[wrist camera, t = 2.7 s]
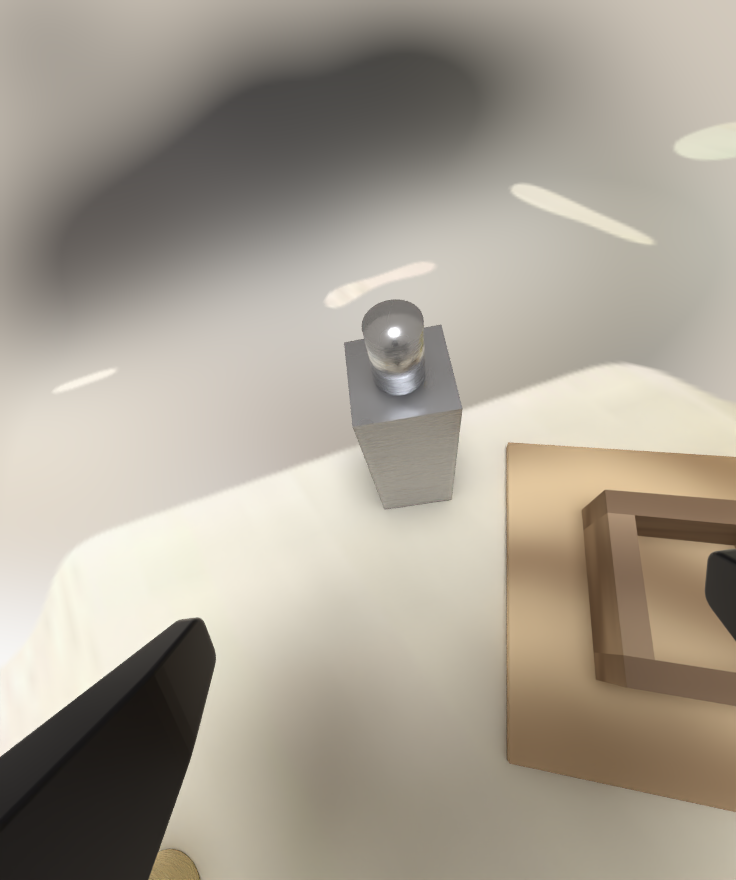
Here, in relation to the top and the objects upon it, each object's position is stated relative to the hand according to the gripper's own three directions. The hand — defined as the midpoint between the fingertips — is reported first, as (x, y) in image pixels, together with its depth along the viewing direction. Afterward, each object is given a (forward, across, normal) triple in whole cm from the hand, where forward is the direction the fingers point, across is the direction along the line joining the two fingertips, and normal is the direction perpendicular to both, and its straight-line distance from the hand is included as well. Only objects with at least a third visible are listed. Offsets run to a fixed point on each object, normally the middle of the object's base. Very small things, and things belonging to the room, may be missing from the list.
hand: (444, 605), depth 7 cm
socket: (+9, -10, +9) cm, 17 cm away
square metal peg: (+15, 0, +4) cm, 15 cm away
